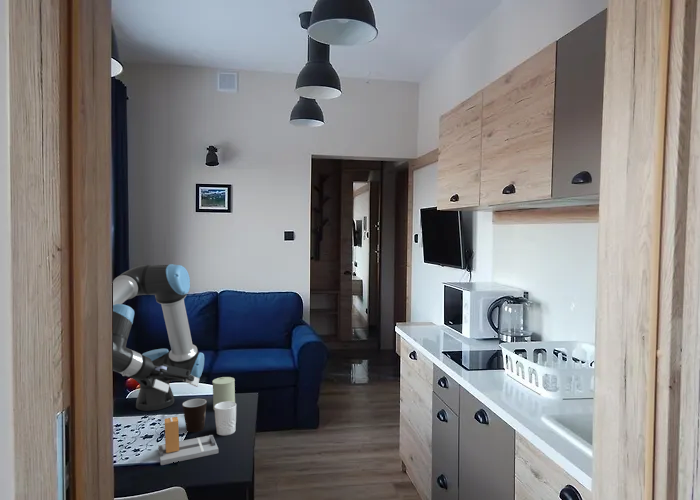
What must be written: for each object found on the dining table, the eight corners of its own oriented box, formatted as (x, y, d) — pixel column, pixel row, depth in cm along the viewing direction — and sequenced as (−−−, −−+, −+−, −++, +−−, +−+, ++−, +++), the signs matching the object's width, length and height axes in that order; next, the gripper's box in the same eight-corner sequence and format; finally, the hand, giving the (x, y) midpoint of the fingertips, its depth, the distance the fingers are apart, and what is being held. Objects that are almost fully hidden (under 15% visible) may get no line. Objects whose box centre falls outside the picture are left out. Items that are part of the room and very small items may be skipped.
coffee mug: (200, 434, 173) (199, 407, 173) (178, 433, 175) (177, 406, 175) (215, 421, 185) (214, 396, 184) (195, 420, 187) (194, 395, 186)
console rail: (158, 449, 162) (158, 442, 162) (212, 438, 170) (212, 432, 170) (160, 465, 151) (160, 457, 151) (218, 453, 159) (218, 445, 159)
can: (231, 401, 206) (231, 374, 206) (238, 408, 198) (237, 380, 198) (210, 406, 202) (209, 378, 201) (216, 413, 194) (215, 384, 193)
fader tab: (165, 448, 159) (164, 418, 159) (178, 445, 161) (177, 416, 160) (166, 453, 156) (165, 422, 155) (179, 450, 157) (178, 420, 157)
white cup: (225, 438, 170) (224, 410, 170) (210, 433, 174) (209, 406, 174) (241, 430, 177) (240, 403, 176) (226, 425, 181) (225, 399, 181)
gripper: (103, 383, 151) (153, 401, 167) (161, 370, 142) (209, 391, 158) (110, 360, 156) (158, 380, 171) (167, 347, 146) (212, 369, 162)
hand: (182, 385), depth 165 cm, fingers open, 13 cm apart
